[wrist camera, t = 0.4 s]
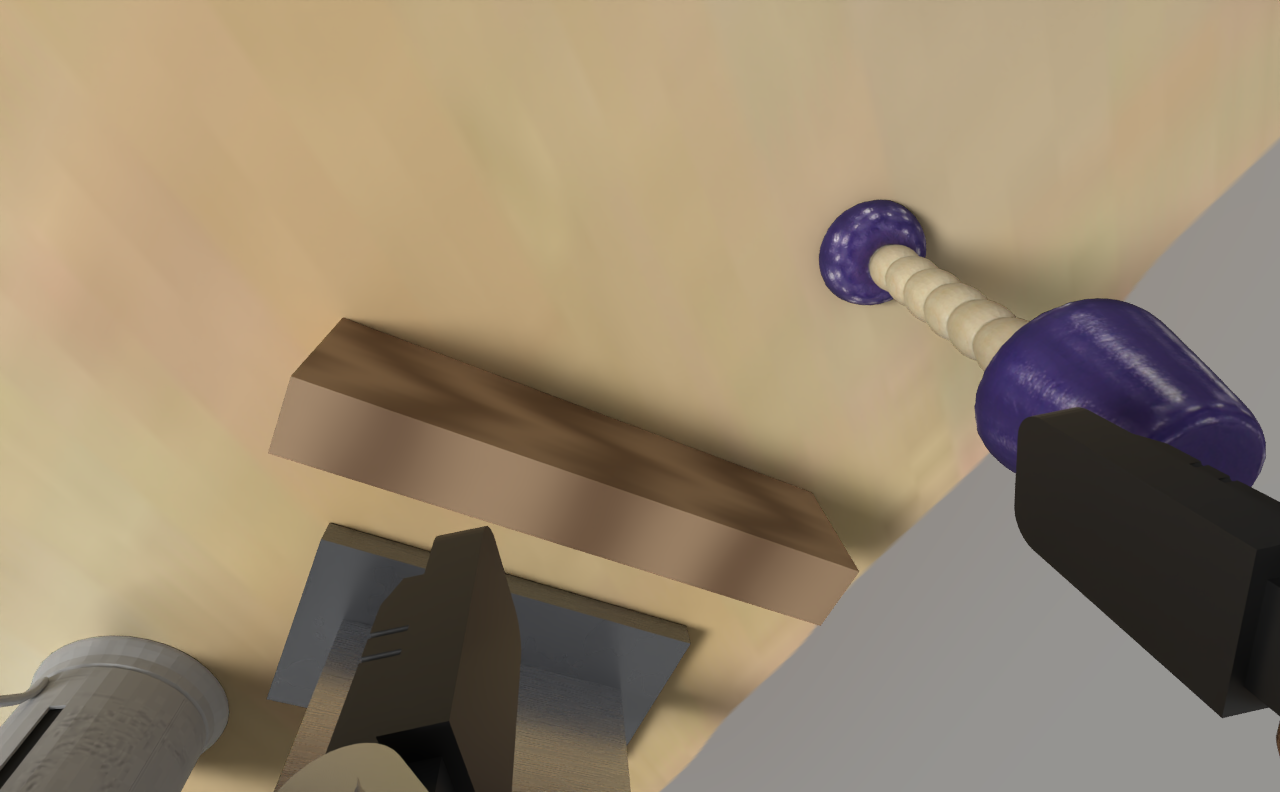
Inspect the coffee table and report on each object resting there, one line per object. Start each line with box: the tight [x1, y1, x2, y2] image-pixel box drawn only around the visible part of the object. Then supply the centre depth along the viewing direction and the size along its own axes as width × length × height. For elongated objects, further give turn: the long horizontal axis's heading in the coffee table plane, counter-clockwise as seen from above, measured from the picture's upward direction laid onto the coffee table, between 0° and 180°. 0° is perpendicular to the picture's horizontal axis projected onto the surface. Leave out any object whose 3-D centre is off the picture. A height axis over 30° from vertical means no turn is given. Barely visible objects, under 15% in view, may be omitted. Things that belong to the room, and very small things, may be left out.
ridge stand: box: [267, 523, 690, 792], centre depth 30 cm, size 10×18×10 cm, turn 65°
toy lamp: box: [819, 200, 1266, 487], centre depth 21 cm, size 5×5×17 cm
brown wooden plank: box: [268, 318, 859, 626], centre depth 28 cm, size 22×3×6 cm, turn 65°
